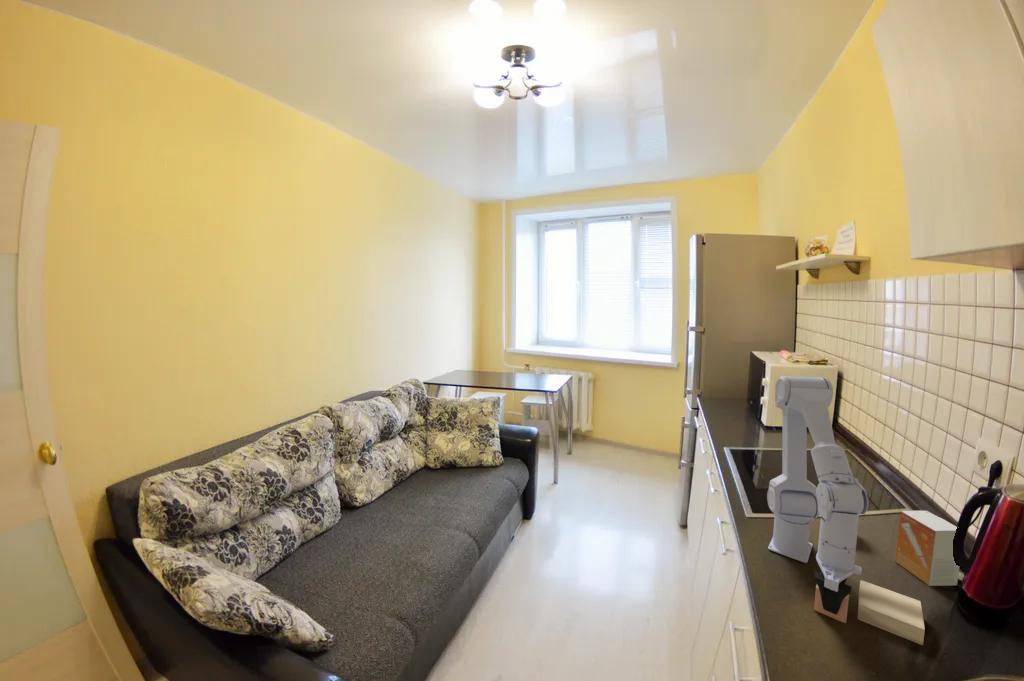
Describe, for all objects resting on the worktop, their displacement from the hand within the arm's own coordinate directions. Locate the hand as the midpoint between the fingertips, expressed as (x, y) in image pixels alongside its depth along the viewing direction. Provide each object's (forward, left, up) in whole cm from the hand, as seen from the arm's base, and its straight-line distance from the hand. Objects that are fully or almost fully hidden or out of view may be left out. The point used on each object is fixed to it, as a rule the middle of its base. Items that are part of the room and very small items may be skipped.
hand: (831, 602), depth 81 cm
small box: (-27, +14, -2) cm, 31 cm away
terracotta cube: (0, 0, -1) cm, 1 cm away
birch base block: (-5, +8, -2) cm, 10 cm away
